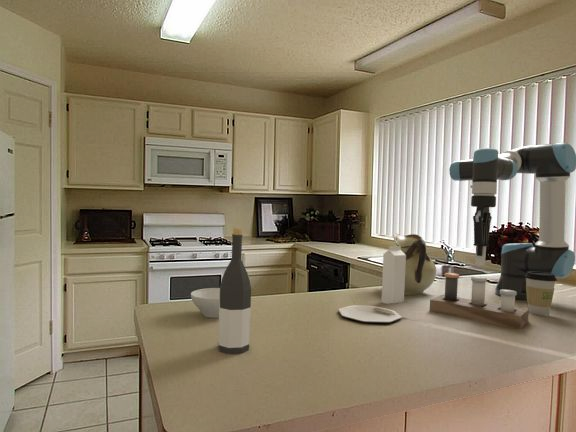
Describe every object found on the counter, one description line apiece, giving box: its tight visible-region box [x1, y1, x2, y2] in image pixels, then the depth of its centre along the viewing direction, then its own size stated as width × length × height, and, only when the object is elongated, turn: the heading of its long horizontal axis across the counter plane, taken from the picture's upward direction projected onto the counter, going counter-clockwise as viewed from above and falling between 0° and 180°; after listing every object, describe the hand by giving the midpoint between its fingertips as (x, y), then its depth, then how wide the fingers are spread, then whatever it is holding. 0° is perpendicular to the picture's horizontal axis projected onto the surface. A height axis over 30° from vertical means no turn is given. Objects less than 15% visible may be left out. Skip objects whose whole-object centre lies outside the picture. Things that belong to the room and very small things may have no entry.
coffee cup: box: [525, 271, 557, 317], centre depth 146 cm, size 10×10×15 cm
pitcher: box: [393, 233, 437, 296], centre depth 176 cm, size 22×24×25 cm
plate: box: [337, 304, 402, 324], centre depth 136 cm, size 20×20×2 cm
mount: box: [429, 294, 529, 330], centre depth 137 cm, size 12×28×5 cm, turn 49°
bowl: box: [190, 287, 220, 319], centre depth 131 cm, size 16×16×7 cm
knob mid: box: [470, 276, 488, 306], centre depth 137 cm, size 5×5×9 cm
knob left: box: [499, 289, 517, 312], centre depth 131 cm, size 5×5×9 cm
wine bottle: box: [217, 228, 252, 355], centre depth 101 cm, size 8×8×30 cm
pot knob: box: [444, 272, 460, 301], centre depth 143 cm, size 5×5×9 cm
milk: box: [381, 245, 406, 305], centre depth 155 cm, size 6×6×22 cm
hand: (480, 265), depth 136 cm, fingers closed
